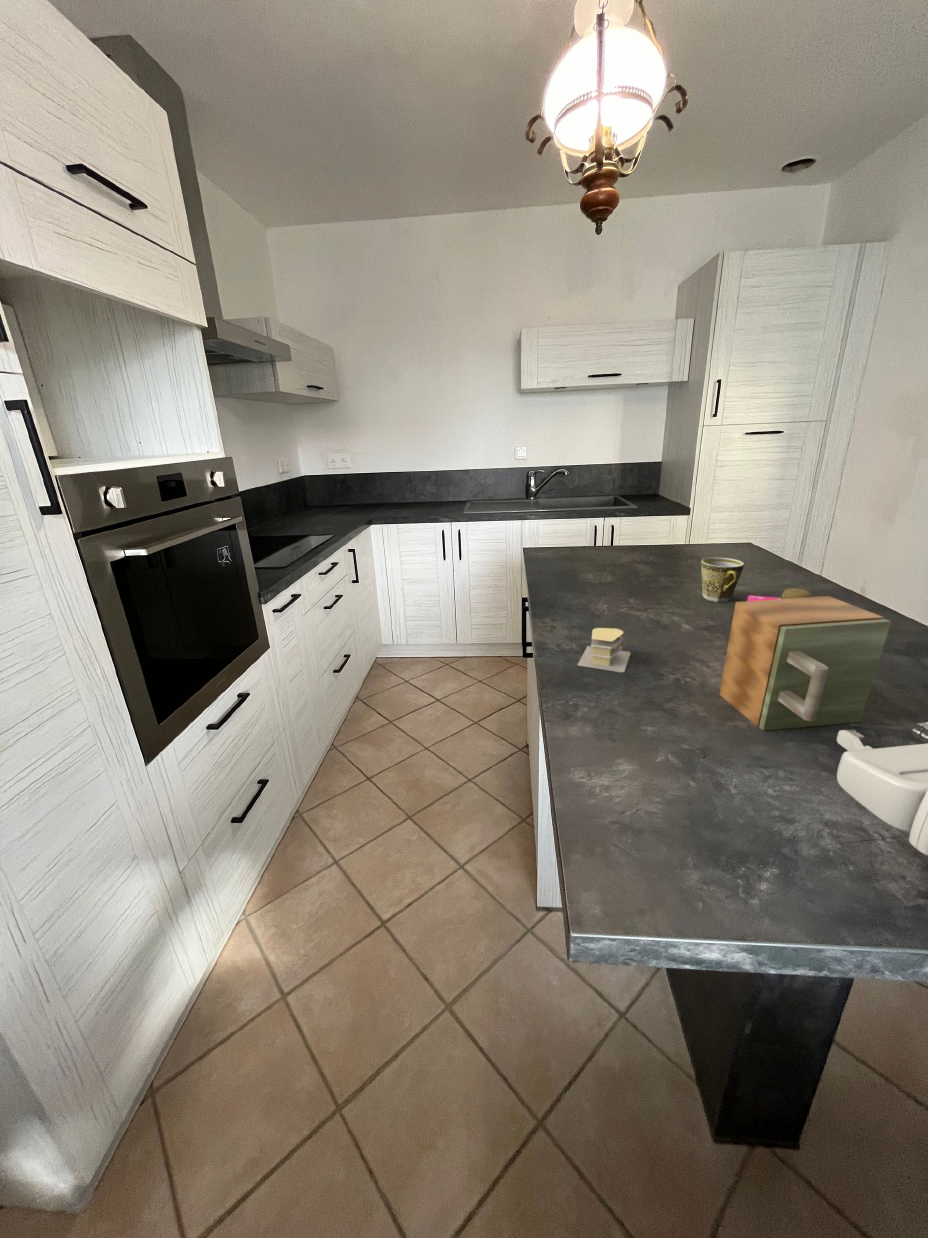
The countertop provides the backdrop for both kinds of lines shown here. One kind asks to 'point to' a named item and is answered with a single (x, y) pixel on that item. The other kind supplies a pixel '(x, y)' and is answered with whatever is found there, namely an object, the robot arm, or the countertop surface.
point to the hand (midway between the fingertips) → (881, 731)
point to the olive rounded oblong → (795, 593)
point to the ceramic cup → (720, 578)
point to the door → (822, 673)
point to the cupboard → (771, 643)
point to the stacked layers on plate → (605, 651)
